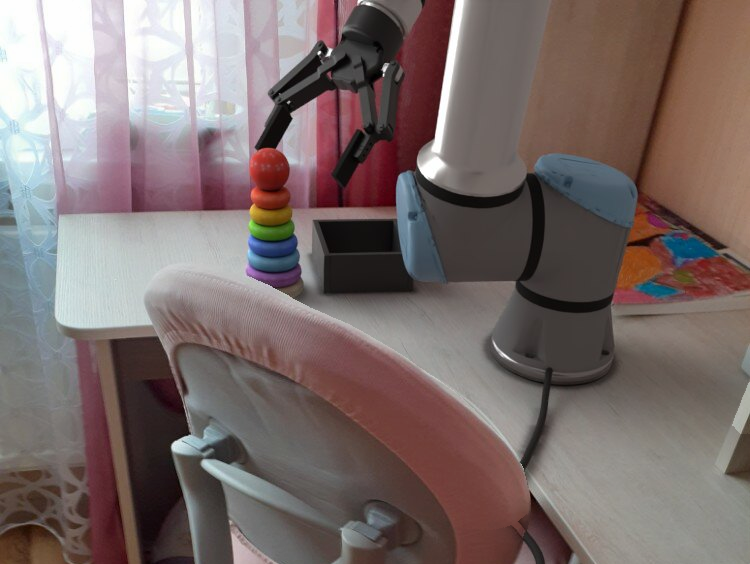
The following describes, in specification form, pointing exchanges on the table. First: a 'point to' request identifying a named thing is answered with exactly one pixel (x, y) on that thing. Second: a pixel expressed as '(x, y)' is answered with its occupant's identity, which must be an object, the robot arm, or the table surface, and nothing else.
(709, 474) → the table surface
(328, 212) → the table surface
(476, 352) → the table surface
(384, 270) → the box
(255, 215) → the stacking toy
